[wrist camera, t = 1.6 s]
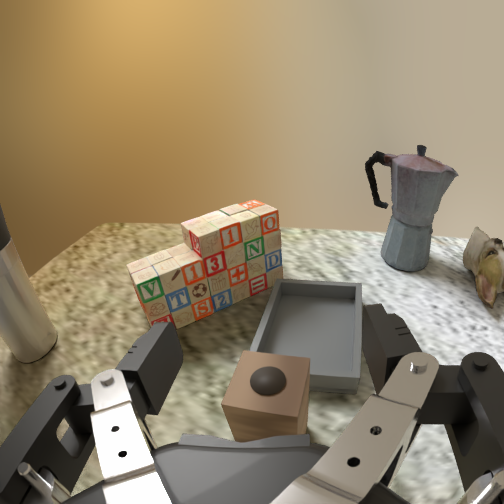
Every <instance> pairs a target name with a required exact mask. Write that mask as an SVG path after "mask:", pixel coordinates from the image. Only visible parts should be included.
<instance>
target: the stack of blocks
mask: <svg viewBox="0 0 504 504" xmlns="http://www.w3.org/2000/svg"><path fill="white" fill-rule="evenodd" d="M181 228H182V233H183V238H184V243H182V244H180V245H177V246H174V247H172V248H169V249H167V250H163V251H160V252H158V253H155V254H152V255H150V256H147V257H145V258H142V259H140V260H137V261H134V262H132V263H129V264H127V268H128V271H129V274H130V277H131V280H132V282H133V286H134V288H135V291H136V294H137V296H138V299H139V301H140V303H141V306H142V308H143V311H144V313H145V315H146V317H147V320H148V322H149V324H150V326H151V327H152V326H153V324H154V323H155V322H172V323H173V324H174V326H175V329H179V328H181V327H183V326H186V325H188V324H190V323H193V322H194V321H197V320H200V319H202V318H204V317H206V316H209V315H211V314H213V313H214V312H217V311H219V310H221V309H224V308H226V307H228V306H230V305H232V304H234V303H237V302H239V301H241V300H243V299H245V298H247V297H249V296H252V295H255V294H257V293H259V292H261V291H263V290H265V289H267V288H270V287H272V286H274V284H275V281H276V279H283V267H282V254H281V233H280V229H279V215H278V209H276V208H273V207H271V206H269V205H267V204H264V203H262V202H260V201H257V200H251V201H248V202H244V203H241V204H234V205H231V206H228V207H225V208H222V209H220V210H219V211H215V212H212V213H209V214H206V215H203V216H201V217H197V218H195V219H192V220H189V221H186V222H183V223H181Z"/></svg>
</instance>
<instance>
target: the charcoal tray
mask: <svg viewBox="0 0 504 504" xmlns="http://www.w3.org/2000/svg"><path fill="white" fill-rule="evenodd" d="M361 341H362V283H346V282H327V281H310V280H293V279H276V281H275V284H274V287H273V289H272V292H271V295H270V297H269V300H268V303H267V305H266V308H265V311H264V313H263V316H262V319H261V321H260V324H259V327H258V329H257V332H256V334H255V337H254V340H253V342H252V345H251V347H250V350H249V351H254V352H261V353H269V354H278V355H287V356H296V357H306V358H310V381H309V390H310V391H320V392H332V393H346V394H356V392H357V388H358V384H359V380H360V367H361Z"/></svg>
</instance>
